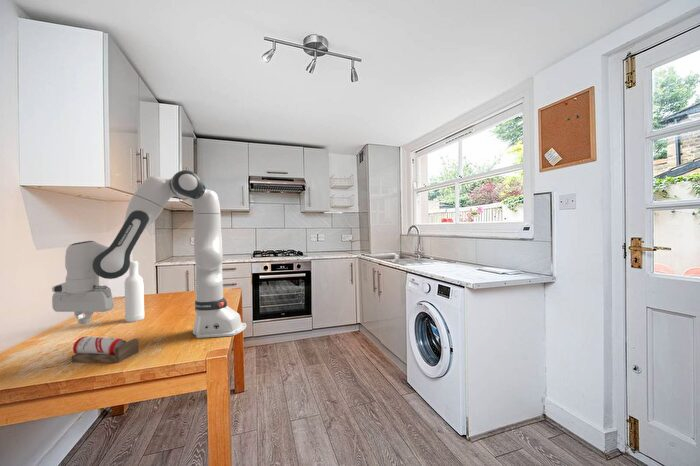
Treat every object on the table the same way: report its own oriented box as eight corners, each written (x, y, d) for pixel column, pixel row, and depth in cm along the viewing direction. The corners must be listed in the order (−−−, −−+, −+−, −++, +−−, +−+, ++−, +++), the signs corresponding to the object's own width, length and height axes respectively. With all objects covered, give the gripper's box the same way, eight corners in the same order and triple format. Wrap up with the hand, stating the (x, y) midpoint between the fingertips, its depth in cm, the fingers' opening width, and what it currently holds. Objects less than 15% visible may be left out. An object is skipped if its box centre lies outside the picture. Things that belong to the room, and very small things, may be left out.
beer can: (67, 351, 99) (109, 354, 97) (78, 333, 102) (119, 336, 101) (81, 356, 104) (121, 359, 102) (91, 339, 107) (131, 341, 106)
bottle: (148, 317, 148) (147, 260, 148) (135, 322, 140) (134, 262, 140) (134, 317, 149) (133, 260, 148) (120, 322, 141) (119, 262, 141)
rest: (138, 351, 106) (138, 338, 106) (119, 362, 98) (118, 348, 97) (94, 351, 107) (94, 338, 107) (71, 361, 99) (71, 347, 98)
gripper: (117, 283, 105) (118, 320, 105) (66, 283, 106) (67, 320, 106) (102, 287, 99) (103, 326, 99) (47, 287, 100) (48, 326, 100)
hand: (84, 323), depth 103 cm, fingers closed
